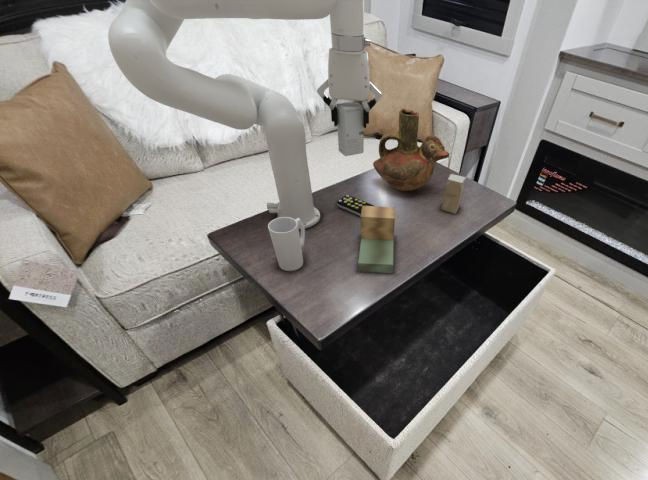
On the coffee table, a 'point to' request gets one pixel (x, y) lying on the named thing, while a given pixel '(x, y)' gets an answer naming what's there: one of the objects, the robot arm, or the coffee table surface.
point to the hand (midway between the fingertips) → (350, 124)
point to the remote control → (352, 204)
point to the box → (453, 193)
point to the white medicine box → (350, 128)
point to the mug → (287, 242)
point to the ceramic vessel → (408, 155)
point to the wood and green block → (377, 239)
